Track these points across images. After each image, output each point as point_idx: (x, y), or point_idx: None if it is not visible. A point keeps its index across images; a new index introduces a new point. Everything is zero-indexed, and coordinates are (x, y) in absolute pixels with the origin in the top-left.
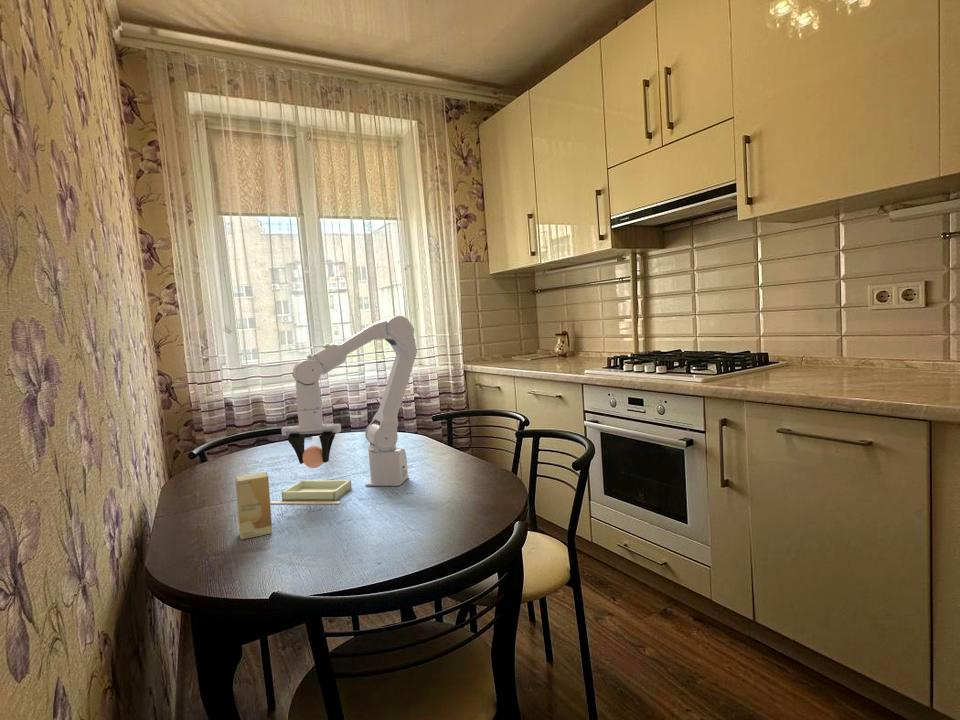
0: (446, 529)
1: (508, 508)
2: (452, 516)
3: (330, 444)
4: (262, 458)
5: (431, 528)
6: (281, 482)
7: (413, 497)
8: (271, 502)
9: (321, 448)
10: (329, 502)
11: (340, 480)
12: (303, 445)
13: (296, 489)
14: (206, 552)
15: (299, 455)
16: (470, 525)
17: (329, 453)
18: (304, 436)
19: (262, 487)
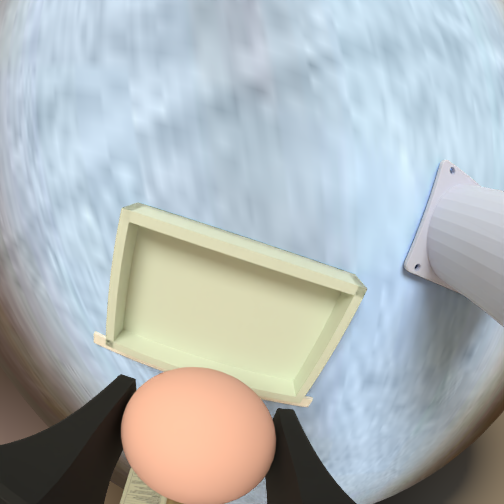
0: (423, 465)
1: (498, 413)
2: (450, 440)
3: (330, 496)
4: None
5: (413, 466)
6: (57, 95)
7: (459, 379)
8: (97, 341)
9: (253, 482)
10: (280, 400)
11: (322, 278)
12: (86, 456)
13: (129, 264)
14: (128, 473)
15: (117, 451)
16: (446, 454)
17: (308, 440)
18: (49, 497)
19: None
